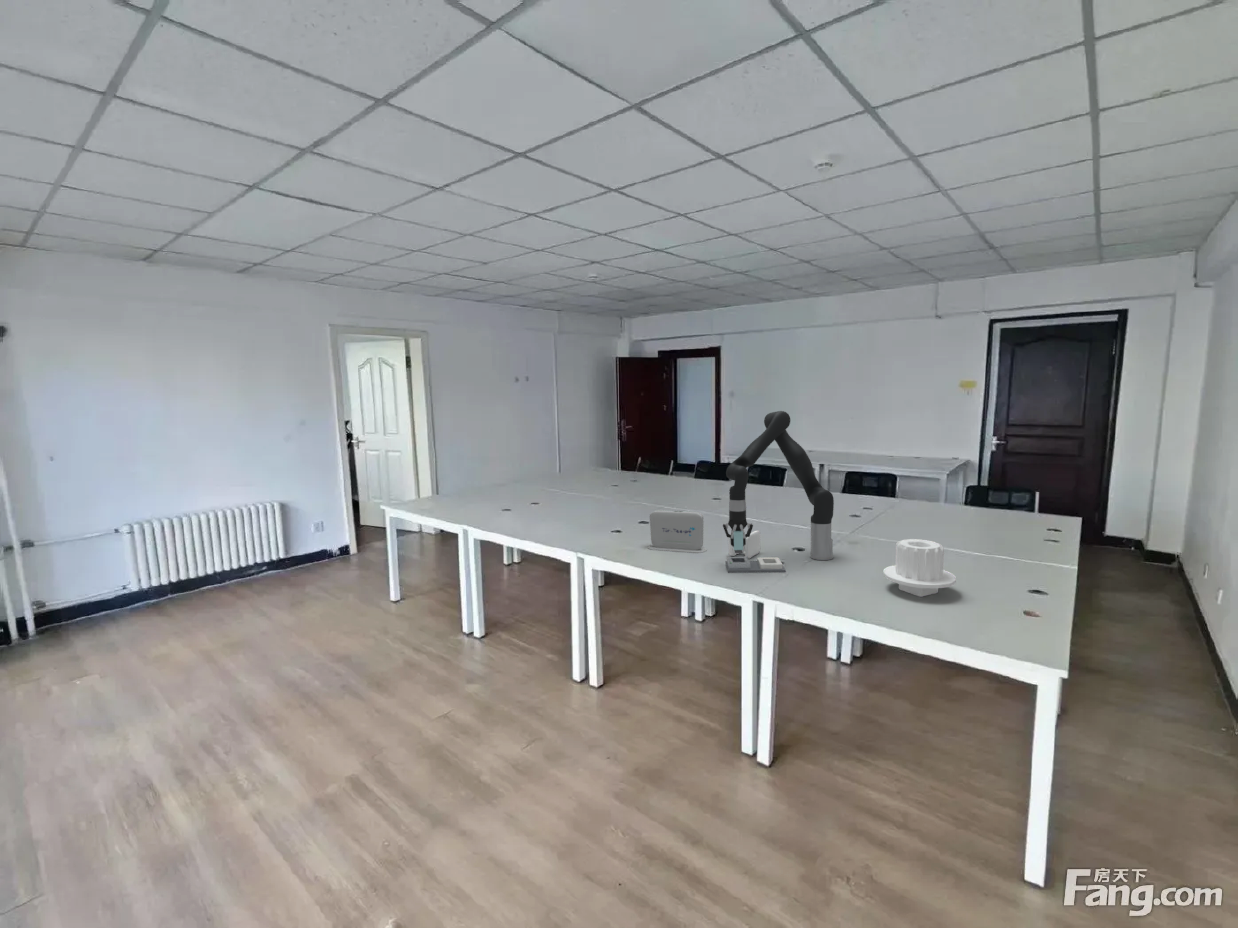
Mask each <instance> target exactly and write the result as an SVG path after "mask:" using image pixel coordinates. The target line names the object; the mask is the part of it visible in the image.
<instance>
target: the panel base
mask: <svg viewBox="0 0 1238 928" xmlns="http://www.w3.org/2000/svg"><path fill="white" fill-rule="evenodd" d="M749 562H750V569H729V568H728V564H727V560H725V562H724V563H725V566H726V571H727V573H731V574H732V573H739V574H740V573H743V574H744V573H786V569H785V567H784V565H783V564H782V569H760V566H759V564H758V562H757V560H749Z"/></svg>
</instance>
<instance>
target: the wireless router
mask: <svg viewBox="0 0 1238 928" xmlns="http://www.w3.org/2000/svg"><path fill="white" fill-rule="evenodd" d="M704 522H705V521H704V516H703V514H702V513H701V512H698V511H683V510H664V509H663V510H658V509H657V510H656V509H655V510H653V511H652V512H650V514H649V528H650V540H651V541H650V542H651V544H650V545H648V546H647V549H648V550H650V551H657V552H658V551H659V552H675V553H691V554H701V553H705V552H707V551H708V549H707V548H706V547H703V545H704Z"/></svg>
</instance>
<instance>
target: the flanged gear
mask: <svg viewBox="0 0 1238 928" xmlns="http://www.w3.org/2000/svg"><path fill="white" fill-rule="evenodd" d="M944 562H945V548H944V547H943V545H942V544H941V543H938V542H935V541H934V540H928V539H927V540H926V539H919V538H917V539H915V538H909V539H901V540H900V541H899V540H898V541H897V542H896V543H895V563H894V565H889V566H887V567H885V568H884V569H883V570H882V571H883V573H882V574H883V577H884V578H885V579H887V580H888V581H890V582H893V583H895V584H898V590H900V591H902V592H905V593H908V594H911V595H912V596H916V597H919V598H922V597H926V596H930V595H935V594H937V593H939V589H943V588H949V587H952V586H954V585H956V583H957V577H956V575H955V574H954V573H953V572H950V571H948V570H945V569H944Z"/></svg>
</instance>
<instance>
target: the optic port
mask: <svg viewBox="0 0 1238 928" xmlns="http://www.w3.org/2000/svg"><path fill="white" fill-rule="evenodd" d="M726 561H727V564H728V568H729V569H750V562H749V561H750V559H749V558H748V557H746V556H726Z"/></svg>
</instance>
